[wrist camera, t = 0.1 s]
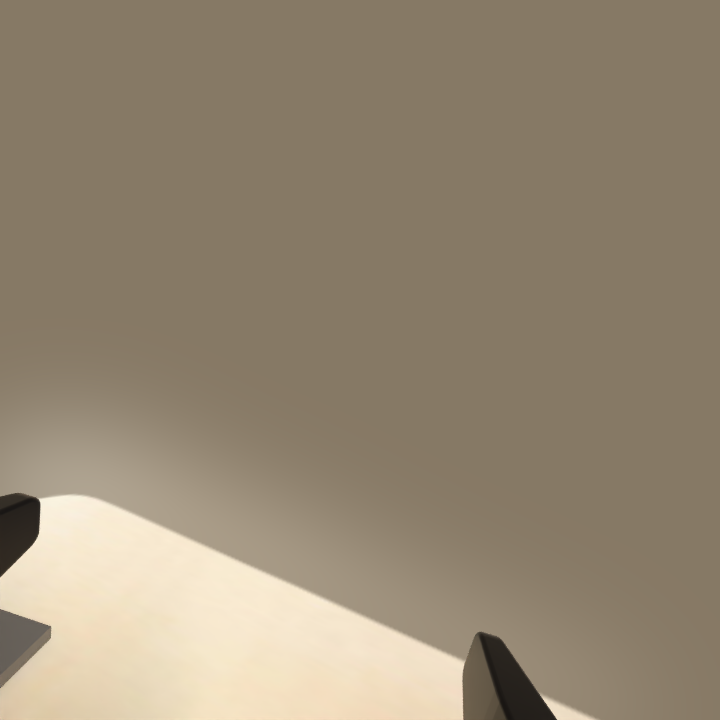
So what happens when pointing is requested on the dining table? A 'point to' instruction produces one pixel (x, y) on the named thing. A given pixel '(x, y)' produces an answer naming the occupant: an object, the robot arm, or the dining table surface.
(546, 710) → the robot arm
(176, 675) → the dining table surface
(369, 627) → the dining table surface
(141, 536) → the dining table surface
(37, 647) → the grey rectangular frame
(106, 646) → the dining table surface
